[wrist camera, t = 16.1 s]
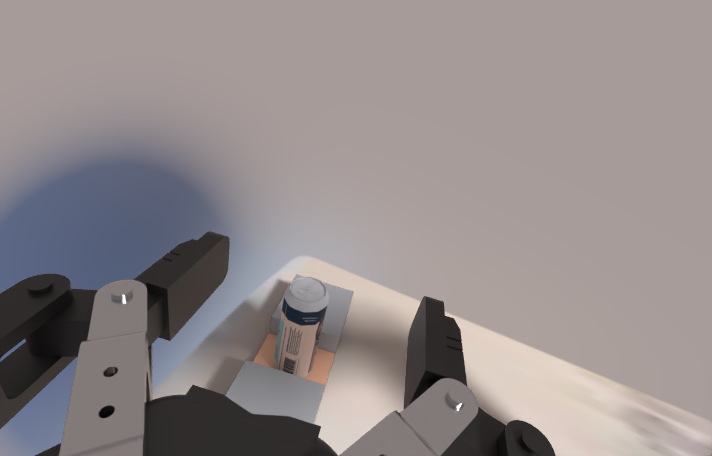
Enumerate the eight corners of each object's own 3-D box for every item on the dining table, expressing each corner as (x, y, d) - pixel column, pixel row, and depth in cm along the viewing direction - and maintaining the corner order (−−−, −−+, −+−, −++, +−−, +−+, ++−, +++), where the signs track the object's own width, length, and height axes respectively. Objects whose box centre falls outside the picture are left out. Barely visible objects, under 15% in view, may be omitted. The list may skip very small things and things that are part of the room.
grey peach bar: (348, 311, 53) (353, 291, 52) (289, 503, 31) (295, 481, 29) (292, 294, 54) (296, 274, 52) (195, 471, 31) (194, 447, 29)
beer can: (319, 373, 41) (339, 297, 36) (283, 389, 39) (298, 310, 33) (301, 344, 44) (317, 270, 39) (266, 356, 42) (277, 279, 36)
